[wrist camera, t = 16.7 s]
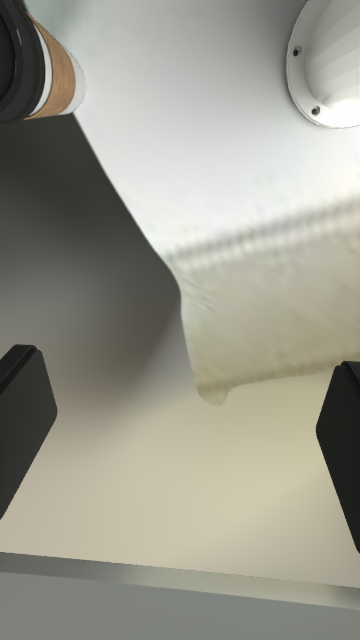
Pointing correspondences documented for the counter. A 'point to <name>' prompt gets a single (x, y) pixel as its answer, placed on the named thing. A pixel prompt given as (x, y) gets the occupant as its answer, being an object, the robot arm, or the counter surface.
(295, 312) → the counter surface
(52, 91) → the coffee cup
